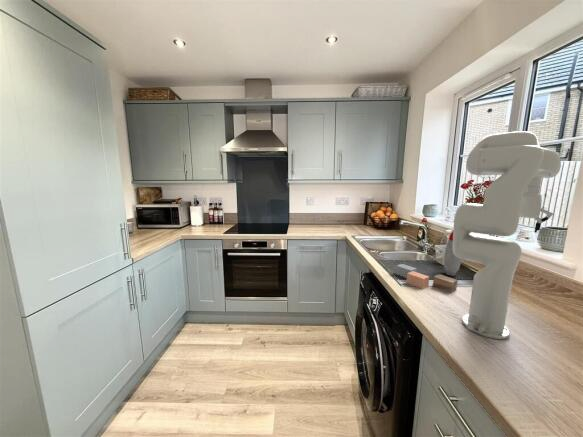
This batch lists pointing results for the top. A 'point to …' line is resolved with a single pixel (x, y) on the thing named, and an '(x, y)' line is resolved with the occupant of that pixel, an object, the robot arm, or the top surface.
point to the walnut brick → (445, 283)
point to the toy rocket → (451, 258)
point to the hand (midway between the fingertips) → (519, 230)
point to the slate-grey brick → (404, 270)
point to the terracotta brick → (418, 279)
